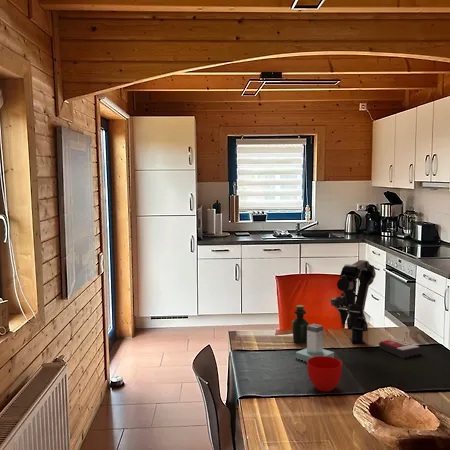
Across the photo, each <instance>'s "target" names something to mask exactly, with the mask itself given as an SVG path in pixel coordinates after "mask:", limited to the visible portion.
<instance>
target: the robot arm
mask: <svg viewBox="0 0 450 450" xmlns="http://www.w3.org/2000/svg"><path fill="white" fill-rule="evenodd" d="M375 278H376V269H375V267H374V266H373V265H372V264H370V262H369V260H366V259H359V260H357V261H356V262H355V263H353V264H349V263H348V264H344V265H343V266H342V268H341V271H340V274H339V279H338V280H337V282H336V286H337V290H339V291H341V294H340V296H339V295H338V296H336V297H333V298H330V304H331V306H332V307H334V308H335V310H336V311H337V312H338V313H339V317H340V321H341V325H343V326H344V325H347V326H346V327H347V330H351V337H350V338H349V341H350V343H351V344H356V345H357V344H358V345H359V344H361V345H362V344H366V341H365V340H364V339H365V338H364V334H365V333H364V332H368V328H369V326H368V325H369V324H368V322H367V320H366V319H367V318H366V315H365V313H364V310H365V307H366V301H367V297H368V292H369V286H371V284H373V283H374V279H375ZM358 281H359V282H358ZM358 283H359V284H358ZM357 284H358V290H357ZM342 292H343V293H342Z"/></svg>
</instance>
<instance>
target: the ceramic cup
mask: <svg viewBox="0 0 450 450" xmlns="http://www.w3.org/2000/svg"><path fill="white" fill-rule="evenodd" d="M306 363H307V364H306V365H307V373H308V377H309V380H310V382H311V384H312V385H313V386H314V387H315V389H316V390H318V391H320V392H331V391H333V390H334V389H335V388H336V387H337V386H338V385H339V383H340V381H341V377H342V372H343V362H342V361H341V360H340V359H337V358H336V357H334V358H333V357H327V356H317V357H312V358H310V359H309V360H308V362H306Z"/></svg>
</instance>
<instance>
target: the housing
mask: <svg viewBox="0 0 450 450" xmlns="http://www.w3.org/2000/svg"><path fill="white" fill-rule="evenodd" d="M306 348H307V352H308V353H311V354H314V355H318V354H320V353H322V352H323V349H324V325H322V324H318V323H311V324H308V326H307V342H306Z"/></svg>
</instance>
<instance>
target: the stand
mask: <svg viewBox="0 0 450 450" xmlns="http://www.w3.org/2000/svg"><path fill="white" fill-rule="evenodd" d="M317 356H327V357H333V358H335V351H331V350H327V349H324V348H323V352H322V353H320V354H318V355H314V354H311V353H308V352H307V347H306V348H303V349H301V350H299V351H296V352H295V359H296V358H297V359H296V360H298V359H300V360H299V361H301V360H303V361H302V362H304V361H306V362H305V363H307V362H308V360H309V359H310V358H312V357H317Z"/></svg>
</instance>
